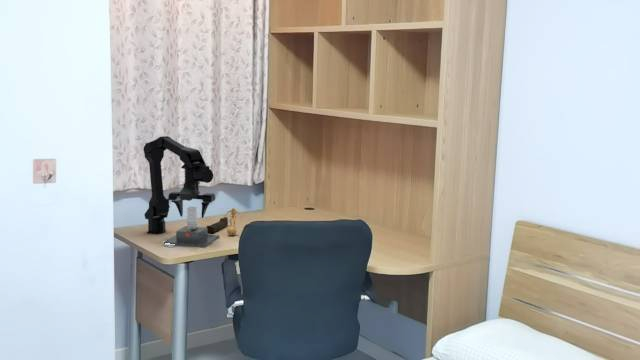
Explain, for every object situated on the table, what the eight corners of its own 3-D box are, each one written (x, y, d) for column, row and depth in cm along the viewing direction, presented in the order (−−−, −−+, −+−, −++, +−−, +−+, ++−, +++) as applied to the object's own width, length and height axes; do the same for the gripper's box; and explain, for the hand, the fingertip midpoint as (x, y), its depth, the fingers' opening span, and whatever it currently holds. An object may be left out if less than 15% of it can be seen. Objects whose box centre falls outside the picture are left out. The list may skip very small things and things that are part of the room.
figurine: (221, 235, 308) (221, 208, 306) (225, 233, 314) (225, 206, 312) (239, 237, 306) (239, 209, 304) (243, 234, 312) (243, 207, 310)
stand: (163, 244, 290) (163, 231, 290) (179, 235, 308) (179, 222, 307) (205, 247, 287) (205, 233, 286) (219, 237, 305) (219, 224, 304)
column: (187, 229, 296) (186, 207, 294) (189, 228, 299) (189, 206, 297) (194, 230, 295) (194, 208, 294) (197, 228, 298) (196, 207, 297)
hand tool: (213, 235, 311) (213, 224, 310) (205, 234, 312) (205, 223, 311) (232, 226, 328) (232, 216, 328) (225, 225, 330) (225, 216, 329)
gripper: (162, 181, 287) (163, 219, 290) (206, 184, 284) (206, 222, 287) (173, 178, 298) (173, 214, 301) (215, 180, 295) (215, 216, 297)
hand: (192, 217), depth 296 cm, fingers open, 9 cm apart
